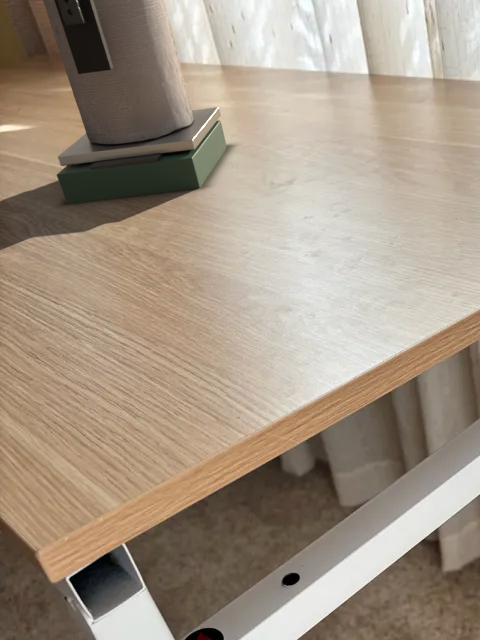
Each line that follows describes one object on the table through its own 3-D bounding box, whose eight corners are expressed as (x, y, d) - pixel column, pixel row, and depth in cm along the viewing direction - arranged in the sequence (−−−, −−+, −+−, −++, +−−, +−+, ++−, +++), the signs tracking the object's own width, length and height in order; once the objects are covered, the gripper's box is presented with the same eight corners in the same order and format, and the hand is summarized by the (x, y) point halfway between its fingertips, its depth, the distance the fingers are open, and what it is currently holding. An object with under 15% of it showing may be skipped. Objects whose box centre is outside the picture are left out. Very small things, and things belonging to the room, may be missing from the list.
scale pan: (60, 166, 71) (57, 156, 70) (101, 130, 80) (99, 122, 79) (194, 149, 70) (192, 139, 69) (220, 115, 79) (218, 106, 78)
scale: (66, 204, 71) (54, 171, 70) (110, 162, 81) (100, 132, 80) (200, 188, 70) (191, 154, 69) (227, 147, 80) (220, 117, 78)
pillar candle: (93, 127, 78) (29, -67, 68) (195, 110, 78) (146, -85, 69) (83, 152, 70) (10, -63, 61) (196, 133, 71) (141, -82, 61)
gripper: (-2, -332, 47) (121, 80, 61) (119, -277, 66) (192, 26, 80) (-124, -311, 48) (25, 92, 61) (31, -263, 67) (118, 36, 80)
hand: (120, 56), depth 70 cm, fingers open, 13 cm apart
